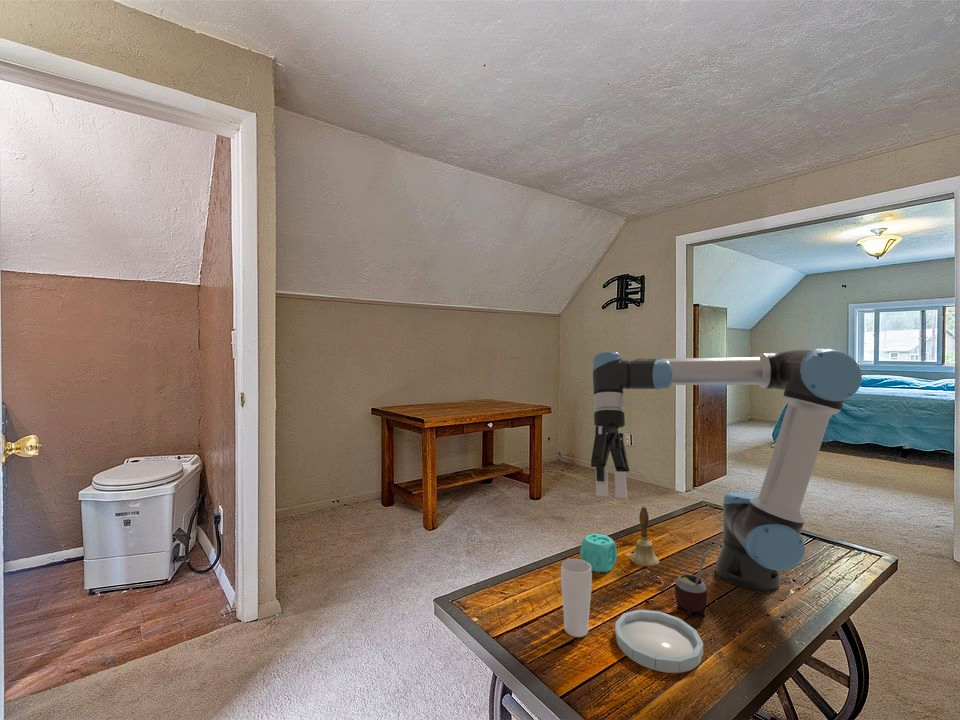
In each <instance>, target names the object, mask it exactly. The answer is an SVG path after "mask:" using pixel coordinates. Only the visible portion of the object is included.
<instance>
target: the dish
mask: <svg viewBox="0 0 960 720" xmlns="http://www.w3.org/2000/svg"><path fill="white" fill-rule="evenodd" d="M614 626H615V627H614V628H615V629H614V633H615V639H616V643H617V647H619V649H620V651H621V652H623V654H624V655H625V656H627V657H628V659H630V660H632V661H634V662H635V663H636V664H638V665H641V666H642V667H644V668H647V669H650V670H653V671H656V672H660V673H666V674H681V673H687V672H690V671H692V670H694V669H696V668H697V667H698V666H699V665H700V664H701V663H702V658H703V655H704V642H703V640H702V638H701V637H700V635H699V633H698V631H697V630H696V628H694V627H693V626H691V625H689V624H688V623H687V622H686V621H684V620H683V619H681V618H680V617H677V616H674V615H672V614H669V613H665V612H662V611H659V610H648V609H636V610H632V611H628V612H624V613H622V614H621V615H620V617H618V618H617V621H615V623H614Z"/></svg>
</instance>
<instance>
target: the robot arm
mask: <svg viewBox="0 0 960 720" xmlns="http://www.w3.org/2000/svg"><path fill="white" fill-rule="evenodd" d="M592 381H593V382H592V387H593V388H592V389H593V399H592V401H591V402H592V404H593V410H594V413H593V420H594V426H595V428H594V429H595V431H594V432H595V434H594V441H593V448H592V452H591V453H592V454H591V459H590V462H591V463H590V466H591V468H595V471H594V472H595V496H596V497H609V471H608V469H609V468H608V467H606V466H607V462H608V459H609V456H610V455H611V459H612V462H613V465H614V468H615V471H614V489H615V492H614V493H615V498H621V499H622V498H623V499H627V498H628V493H627V492H628V491H627V490H628V489H627V486H628V485H627V473H628V472H630V467H629V463H628V458H627V453H626V448H625V442H624V434H623V433H622V432H619V428H623V427H625V425H626V421H625V419H626V418H625V412H624V410H625V396H624V390H657V391H658V390H664V389H665V390H667V389H670V388H671V386H678V385H679V386H718V385H719V386H743V385H744V386H746V385H747V386H755V385H756V386H757V385H758V386H759V387H760V388H761V389H772V390H773V389H774V390H781V391H784V392H783V395H782V398H783V399H784V401H785V402H786V405H787V407H786V410H785V413H784V416H783V418H782V419H783V420H782V422H781V426H780V430H779V432H778V436H777V437H776V438H777V439H776V442H775V445H774V448H773V451H772V454H771V457H770V461H769V463H768V466H767V470H766V473H765V476H764V479H763V482H762V485H761V488H760V492H759V493H754V492H753V493H751V492H745V491H744V492H743V491H731V492H727V493H725V494H724V497H723V503H722V505H723V509H722V510H723V522H722V523H723V524H722V525H723V527H722V529H723V531H722V534H723V536H722V537H723V538H722V540H723V541H722V542H723V543H722V545H721V549H720V551H719V554H718V556H717V559H716V562H715V572H716V574H717V576H719V577H720V578H721V579H723V580H724V581H726V582H728V583H729V584H732V585H734V586H737V587H740V588H743V589H748V590H752V591H764V592H765V591H773V590H775V589H777V588H778V587H779V585H780V574H779V571H786V570H788V569H792V568H794V567H796V566H798V564H800V563H801V561H802V560H803V558H804V557H805V553H806V546H805V542H804V540H803V537H802V536H801V533H802V530H803V527H804V524H805V519H804V517H803V514H802V513H801V511H800V510H801V507H802V503H803V501H804V498H805V494H806V491H807V488H808V486H809V482H810V480H811V476H812V473H813V470H814V467H815V464H816V461H817V459H818V455H819V452H820V449H821V446H822V443H823V439H824V437H825V435H826V430H827V428H828V424H829V421H830V419H831V417H832V416H834V415H836V414H838V413H840V412H841V411H842V409H843V406H844V402H845V400H846V399H849V398H851V397H852V396H853V395H855V394H856V393H857V391H859V389H860V387H861V384H862V381H863V375H862V369H861V367H860V365H859V363H857V361H856V360H855V359H854V358H853V357H852V356H850V354H847V353H845V352H843V351H841V350H836V349H833V348H799V349H793V350H786V351H785V350H784V351H779V352H777V351H776V352H762V353H760V354H759V355H758V356H751V357H750V356H748V357H746V356H743V357H742V356H740V357H684V358H683V357H682V358H679V357H678V358H676V357H675V358H641V357H640V358H636V359H633V360H623V356H622V355H621V353H619V352H616V351H603V352H598V353H597V354H595V355H594V356H593V358H592ZM609 454H610V455H609Z"/></svg>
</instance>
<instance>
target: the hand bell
mask: <svg viewBox="0 0 960 720" xmlns="http://www.w3.org/2000/svg"><path fill="white" fill-rule="evenodd" d="M639 523H640V527H641V530H640V531H641V534H640V536H641V539H638V540H637V541H636V544H635V545H636V546H635V548H634V551H633V553H631V555H630V556H629V560H630V559H631V560H630V561H631V562H632V563H634V564H635V565H638V566H642V567H655V566H658V565H659V564H660V560H659V558H658V557H657V556H656V554H655V552H654V548H653V542H652V541H651V540H648V525H649V513H648V510H647V507H646V506H641V509H640V513H639Z"/></svg>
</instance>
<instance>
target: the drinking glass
mask: <svg viewBox="0 0 960 720" xmlns="http://www.w3.org/2000/svg"><path fill="white" fill-rule="evenodd" d="M560 568H561V569H560V586H561V598H562V608H563V609H562V610H563V612H562V613H563V628H564V629H563V630H564V631H565V633H566V634H567V635H569V636H571V637H574V638H582V637H583V638H584V637H585V636H586V635H588V633H589V621H590V620H589V619H590V608H591V598H592V590H593V589H592V587H593V585H592V584H593V579H592V578H593V571H592V567H591V565H590V564H589V563H588V562H586V561H584V560H581V558H569V559H567V558H566V559H565V560H563V561H562V562H561V566H560Z"/></svg>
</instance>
